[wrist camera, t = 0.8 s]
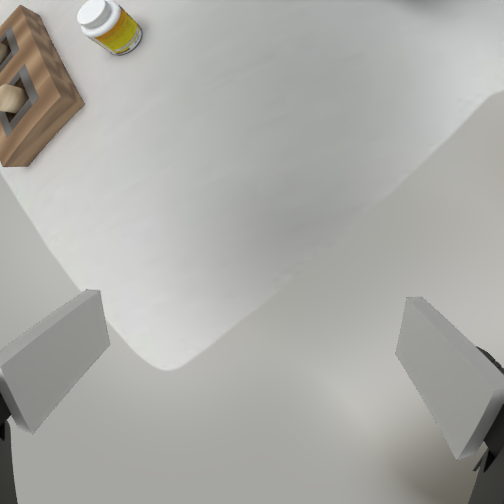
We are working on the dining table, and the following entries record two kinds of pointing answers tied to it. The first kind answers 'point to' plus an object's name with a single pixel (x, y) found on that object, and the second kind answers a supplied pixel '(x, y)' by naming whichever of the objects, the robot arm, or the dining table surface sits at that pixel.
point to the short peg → (12, 98)
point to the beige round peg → (4, 52)
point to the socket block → (33, 89)
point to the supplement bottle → (109, 26)
